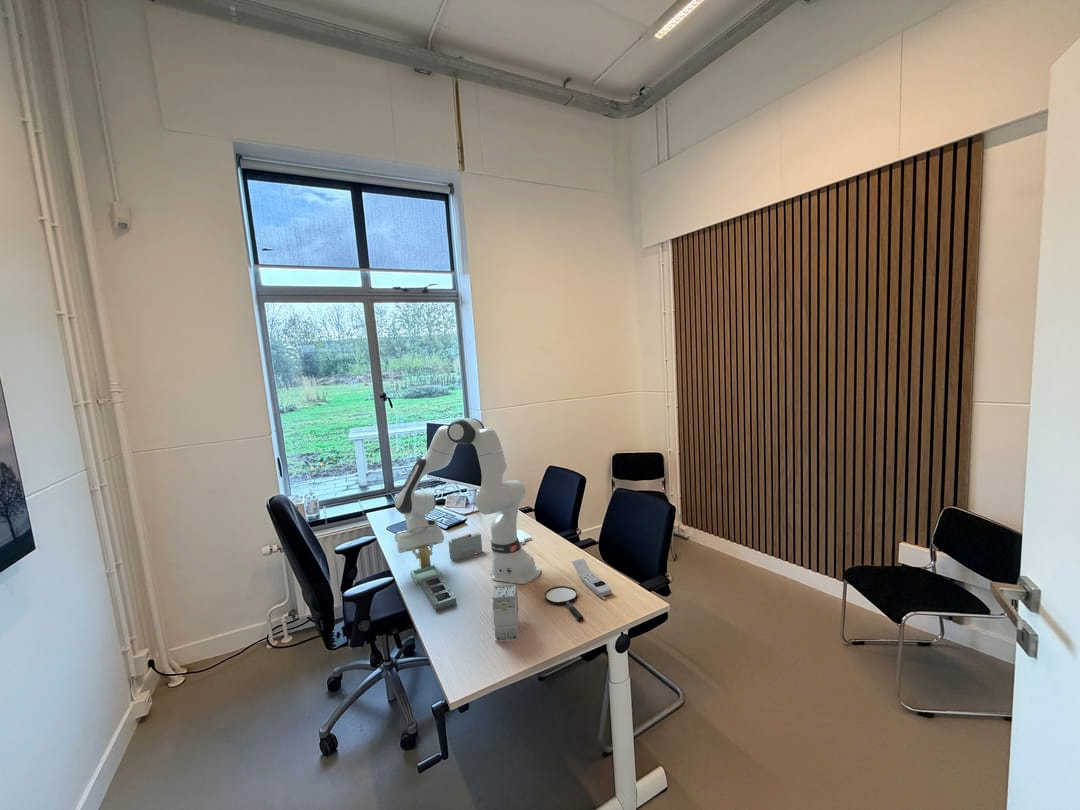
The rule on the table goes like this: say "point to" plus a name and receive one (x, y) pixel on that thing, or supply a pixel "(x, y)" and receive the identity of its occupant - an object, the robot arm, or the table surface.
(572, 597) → the magnifying glass
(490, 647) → the table surface
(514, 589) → the circuit breaker
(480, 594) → the table surface
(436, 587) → the socket block
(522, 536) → the mounting plate
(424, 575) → the parts tray
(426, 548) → the brass plug
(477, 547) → the cassette player
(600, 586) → the mobile phone
